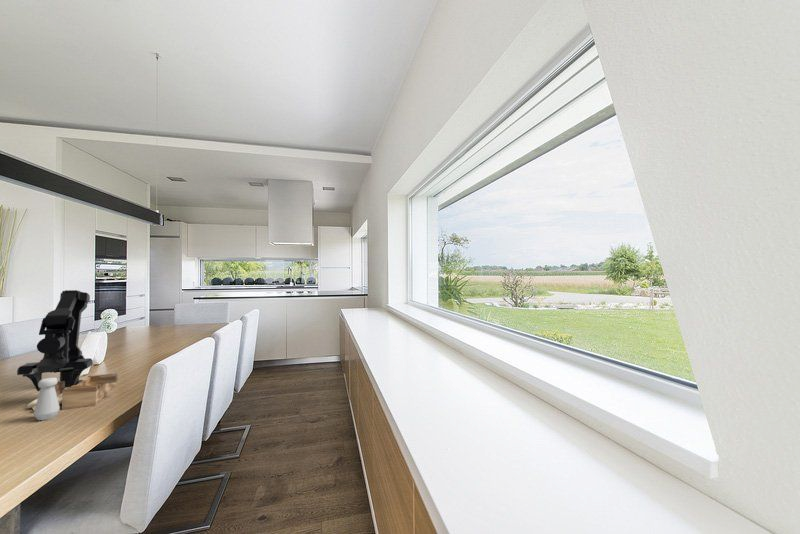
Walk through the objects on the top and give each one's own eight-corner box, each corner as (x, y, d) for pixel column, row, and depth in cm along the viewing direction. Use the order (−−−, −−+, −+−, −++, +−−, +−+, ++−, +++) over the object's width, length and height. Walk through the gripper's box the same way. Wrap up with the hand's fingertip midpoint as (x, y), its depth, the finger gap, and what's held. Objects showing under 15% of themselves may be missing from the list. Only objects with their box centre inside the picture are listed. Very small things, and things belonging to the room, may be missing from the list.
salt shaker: (41, 423, 102) (43, 382, 102) (28, 420, 103) (29, 380, 103) (64, 414, 108) (65, 376, 108) (51, 413, 109) (52, 375, 109)
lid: (48, 396, 123) (48, 380, 123) (78, 392, 127) (78, 377, 127) (21, 414, 108) (21, 396, 108) (56, 409, 111) (56, 392, 112)
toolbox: (88, 388, 131) (88, 371, 131) (116, 385, 135) (117, 369, 135) (61, 409, 112) (62, 390, 112) (95, 405, 116) (96, 386, 116)
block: (100, 382, 122) (101, 375, 122) (117, 380, 124) (117, 374, 124) (98, 384, 119) (98, 377, 119) (115, 382, 122) (115, 376, 122)
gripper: (7, 355, 108) (6, 401, 108) (81, 350, 117) (80, 392, 117) (27, 347, 118) (25, 389, 118) (93, 343, 127) (92, 382, 127)
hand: (56, 389), depth 120 cm, fingers open, 9 cm apart
